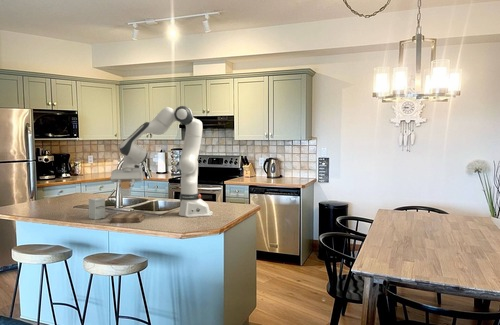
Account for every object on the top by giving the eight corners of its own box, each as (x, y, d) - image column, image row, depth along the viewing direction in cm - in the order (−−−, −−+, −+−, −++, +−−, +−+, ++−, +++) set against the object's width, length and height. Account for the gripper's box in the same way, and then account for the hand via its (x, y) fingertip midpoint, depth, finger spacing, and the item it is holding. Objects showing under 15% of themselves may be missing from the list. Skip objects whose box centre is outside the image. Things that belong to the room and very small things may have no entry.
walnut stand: (145, 216, 242) (145, 212, 242) (140, 222, 226) (140, 217, 226) (117, 217, 241) (116, 212, 241) (109, 223, 225) (109, 218, 225)
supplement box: (95, 220, 234) (94, 200, 233) (88, 218, 238) (88, 198, 237) (105, 217, 239) (105, 198, 238) (99, 216, 244) (98, 197, 243)
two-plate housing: (130, 194, 238) (130, 180, 238) (129, 195, 234) (128, 181, 234) (122, 194, 238) (122, 180, 237) (121, 196, 234) (120, 181, 233)
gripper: (111, 166, 241) (107, 183, 232) (143, 165, 242) (140, 182, 233) (113, 172, 246) (109, 189, 237) (145, 172, 247) (142, 188, 238)
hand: (125, 186), depth 235 cm, fingers closed on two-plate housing, 5 cm apart
